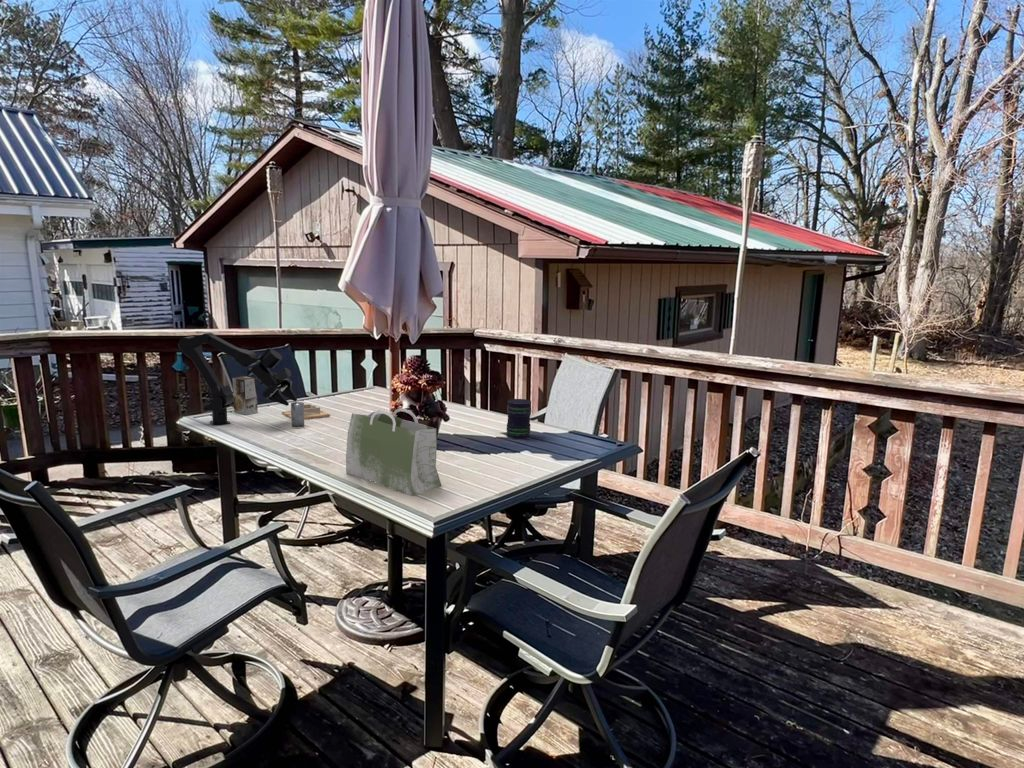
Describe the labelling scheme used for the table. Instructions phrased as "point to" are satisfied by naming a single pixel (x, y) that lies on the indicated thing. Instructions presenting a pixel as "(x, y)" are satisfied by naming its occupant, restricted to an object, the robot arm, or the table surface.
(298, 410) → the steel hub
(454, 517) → the table surface
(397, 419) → the grocery bag
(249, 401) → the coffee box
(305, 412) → the socket block
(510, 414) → the storage jar
